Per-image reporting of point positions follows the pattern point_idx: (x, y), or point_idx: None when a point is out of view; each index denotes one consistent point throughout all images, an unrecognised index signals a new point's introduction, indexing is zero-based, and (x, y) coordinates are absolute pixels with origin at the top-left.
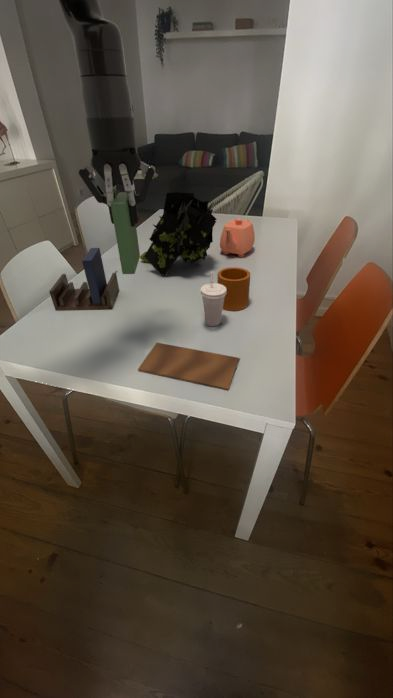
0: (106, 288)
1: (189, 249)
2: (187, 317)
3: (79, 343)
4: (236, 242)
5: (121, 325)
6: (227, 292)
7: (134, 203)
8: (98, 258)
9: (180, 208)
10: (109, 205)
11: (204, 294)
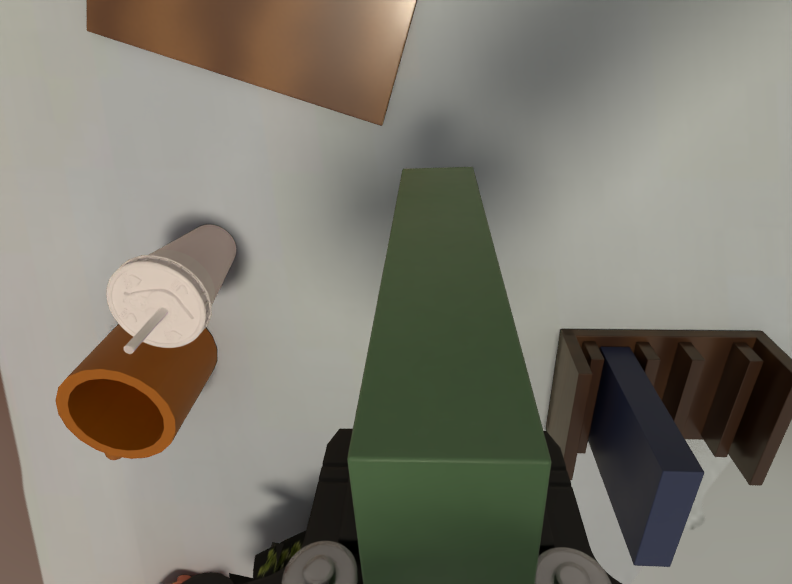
0: (586, 385)
1: None
2: (301, 275)
3: (661, 133)
4: None
5: (518, 237)
6: (150, 346)
7: (298, 564)
8: (631, 512)
9: None
10: (581, 558)
11: (186, 277)
